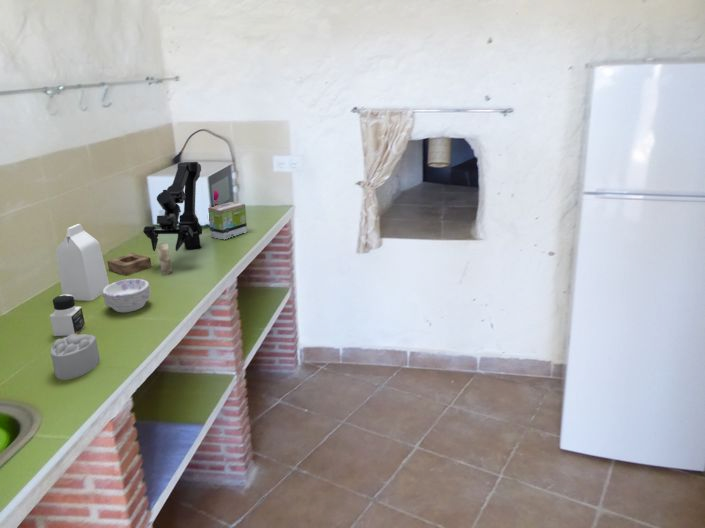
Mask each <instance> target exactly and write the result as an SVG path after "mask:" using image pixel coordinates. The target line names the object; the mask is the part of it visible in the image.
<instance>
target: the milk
mask: <svg viewBox="0 0 705 528" xmlns="http://www.w3.org/2000/svg"><path fill="white" fill-rule="evenodd" d="M101 248H102V247H101V244H100V242H98V240H97V239H96V238H94V236H92V235H91V234H89V233H88V232H86V231H85V230H84V227H83V226H82V224H81V223H77V224H74V225H72V226H70V227H67V229H66V235H65V238H64V239H63V240H62V241H61V243H60V244H59V245H58V246H57V248H56V250H55V254H56V262H57V266H58V274H59V275H58V276H59V280H60V282H59V283H60V287H61V292H62V293H61V295H65V294H68V295H72V296H73V297H74V301H84V302H85V301H87V302H88V301H89V302H92V301H93V300H95V299H96V298H97V299H98V297H99V296H101V295H103V289H104V288H105V287H106V286H108V285H109V284H110V280H109V278H108V274H107V268H106V264H105V262H104V261H105V260H104V258H103V253H102V249H101Z"/></svg>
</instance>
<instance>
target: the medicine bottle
mask: <svg viewBox="0 0 705 528" xmlns="http://www.w3.org/2000/svg"><path fill="white" fill-rule="evenodd" d="M52 304H53V309H54V311H53V312H52V313H51V314H49V320H50V325H51V329H52V333H53V336H54V337H67V336H69V335H71V334H78V335H79V333H80V332H81V331H82V330H83V329H84V328H85V327H86V324H85V318H84V313H83V308H82V306H76V302H75V300H74V297H73V296H72V295H68V294H65V295H62V294H60V295H58V296H56V297H54V298H53V299H52Z"/></svg>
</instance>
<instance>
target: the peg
mask: <svg viewBox="0 0 705 528" xmlns="http://www.w3.org/2000/svg"><path fill="white" fill-rule="evenodd" d="M157 251H158V257H159V264H160V265H159V266H160V270H161V275H163V276H167V274H168V275H172V273H173V270H172V264H171V255H170V248H169V243H167V242H162V243H157Z"/></svg>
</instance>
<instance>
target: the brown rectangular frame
mask: <svg viewBox="0 0 705 528" xmlns="http://www.w3.org/2000/svg"><path fill="white" fill-rule="evenodd" d="M107 267H108V271H111V272H113V273H116V274H119V275H123V276H129V275H132V274H135V273H138V272H140V271H143V270H146V269H150V268H152V261H151V257H148V256H145V255H142V254H138V253H134V252H132V253H129V254H125V255H122V256H119V257H116V258H113V259H109V260H107ZM149 267H150V268H149Z"/></svg>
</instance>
